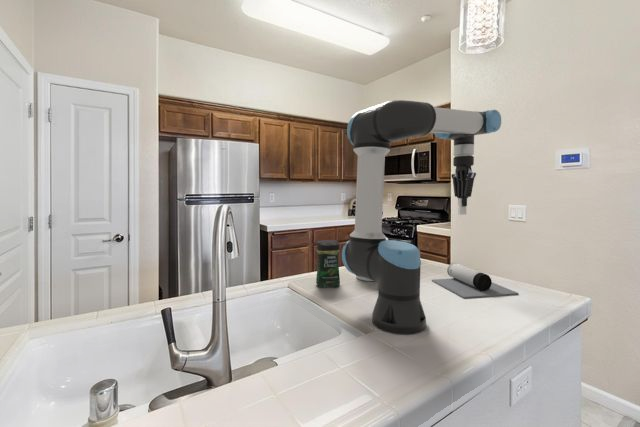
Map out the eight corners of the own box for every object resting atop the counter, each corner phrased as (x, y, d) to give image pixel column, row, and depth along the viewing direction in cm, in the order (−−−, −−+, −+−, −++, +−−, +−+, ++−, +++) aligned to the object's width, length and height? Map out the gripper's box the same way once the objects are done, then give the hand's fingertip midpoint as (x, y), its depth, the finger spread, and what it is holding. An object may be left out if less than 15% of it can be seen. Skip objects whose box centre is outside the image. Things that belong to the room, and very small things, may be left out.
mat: (518, 294, 115) (518, 292, 115) (463, 298, 111) (463, 296, 111) (478, 278, 137) (478, 276, 136) (431, 281, 133) (431, 279, 133)
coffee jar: (318, 289, 124) (317, 242, 123) (315, 283, 132) (314, 239, 130) (342, 287, 125) (341, 241, 124) (337, 281, 133) (337, 238, 132)
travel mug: (443, 272, 136) (475, 285, 116) (452, 259, 136) (485, 271, 117) (453, 280, 137) (486, 295, 117) (462, 268, 137) (496, 281, 118)
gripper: (482, 154, 121) (481, 215, 123) (462, 157, 134) (460, 213, 136) (465, 154, 120) (463, 215, 122) (446, 157, 133) (444, 213, 134)
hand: (462, 214), depth 129 cm, fingers closed
